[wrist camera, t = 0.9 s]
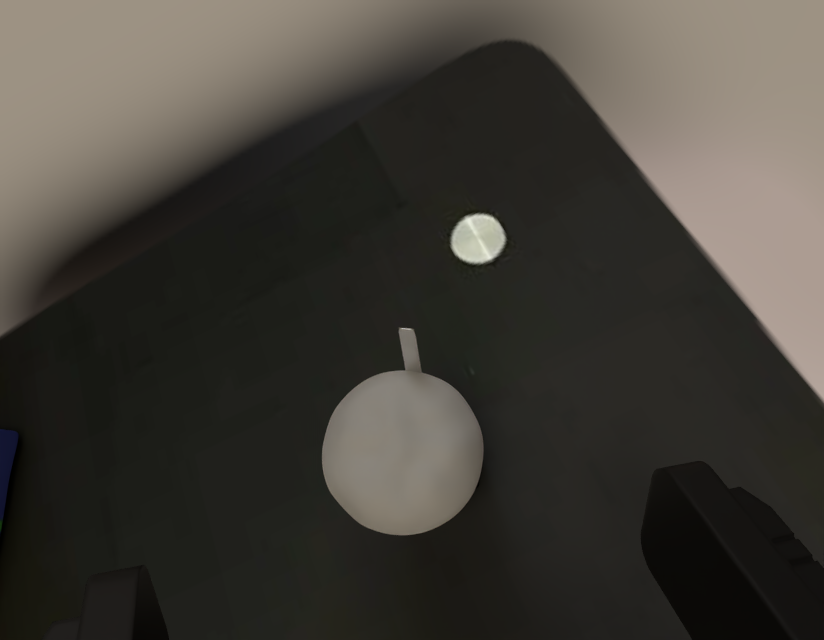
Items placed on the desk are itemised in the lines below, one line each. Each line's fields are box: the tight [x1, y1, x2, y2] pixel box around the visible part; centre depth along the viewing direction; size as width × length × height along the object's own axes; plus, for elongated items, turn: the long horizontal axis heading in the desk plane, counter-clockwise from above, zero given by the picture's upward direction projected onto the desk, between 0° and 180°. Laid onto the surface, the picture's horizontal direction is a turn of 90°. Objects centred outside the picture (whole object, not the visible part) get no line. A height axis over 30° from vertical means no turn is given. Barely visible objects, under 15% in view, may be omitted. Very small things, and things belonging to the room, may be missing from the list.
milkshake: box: [322, 327, 484, 535], centre depth 24 cm, size 4×5×10 cm
